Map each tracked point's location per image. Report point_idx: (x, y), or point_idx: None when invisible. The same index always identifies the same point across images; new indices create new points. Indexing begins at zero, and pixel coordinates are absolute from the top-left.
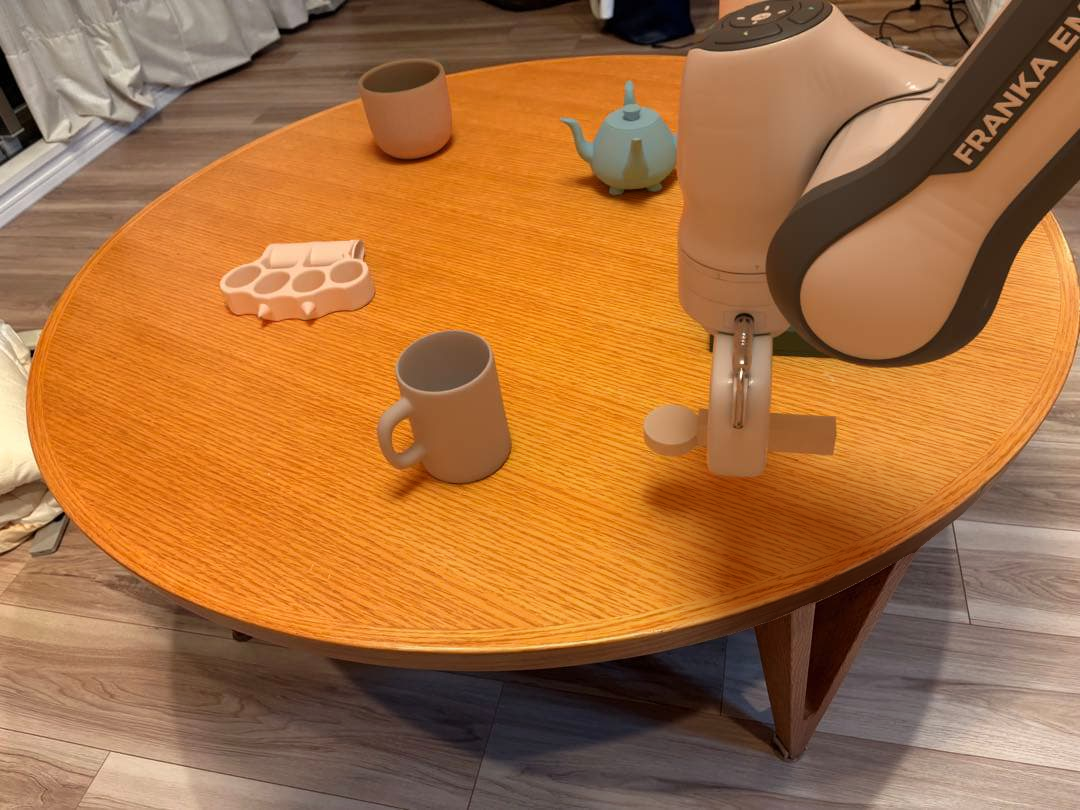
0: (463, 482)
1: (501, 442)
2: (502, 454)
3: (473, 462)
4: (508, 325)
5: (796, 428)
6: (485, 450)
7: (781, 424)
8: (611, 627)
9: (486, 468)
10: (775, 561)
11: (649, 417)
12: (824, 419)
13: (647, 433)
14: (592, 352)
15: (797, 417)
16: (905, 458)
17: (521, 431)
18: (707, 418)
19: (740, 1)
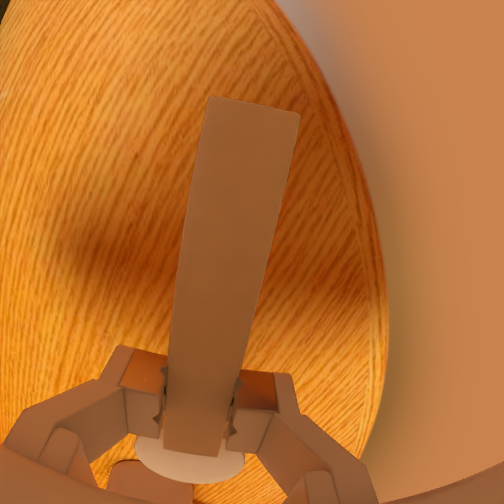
0: (192, 486)
1: (158, 486)
2: (163, 476)
3: (186, 499)
4: (3, 427)
5: (256, 249)
6: (177, 499)
7: (233, 295)
8: (375, 395)
9: (182, 484)
10: (333, 224)
11: (173, 477)
12: (220, 138)
13: (213, 482)
14: (2, 378)
15: (199, 234)
16: (155, 4)
17: (120, 451)
18: (197, 444)
19: None
